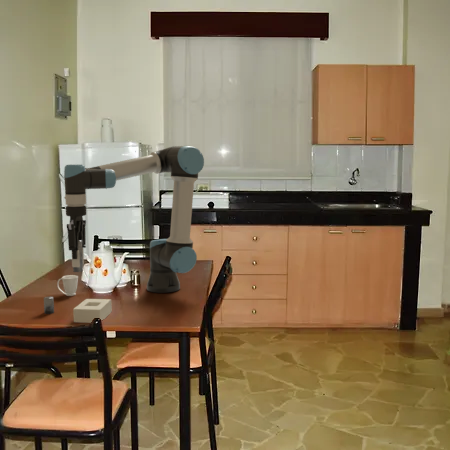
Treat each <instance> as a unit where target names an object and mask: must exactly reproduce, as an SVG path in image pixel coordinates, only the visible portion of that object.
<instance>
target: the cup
mask: <svg viewBox="0 0 450 450" xmlns="http://www.w3.org/2000/svg"><path fill="white" fill-rule="evenodd" d="M78 280H79V275H77V274H76V275H75V274H70V275H69V274H67V275H63V276H62V277H61V278H59V279H58V280H57V285H56V286H57V289H58V290H59V291H60V292H61V294H64V295H65V296H67V297H72V296H73V297H74V296H76V295H77V293H76V292H77V290H78V282H79V281H78ZM60 281H62V285H63V290H64V291H63V290H62V289H61V288H60V285H59V284H60Z"/></svg>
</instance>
